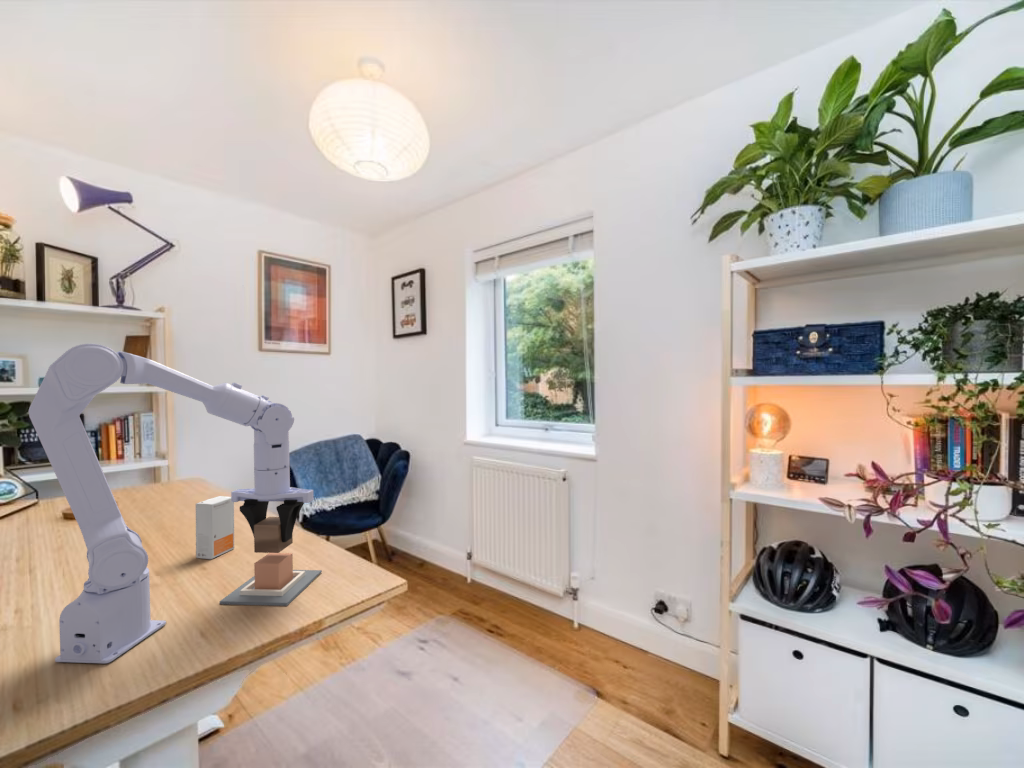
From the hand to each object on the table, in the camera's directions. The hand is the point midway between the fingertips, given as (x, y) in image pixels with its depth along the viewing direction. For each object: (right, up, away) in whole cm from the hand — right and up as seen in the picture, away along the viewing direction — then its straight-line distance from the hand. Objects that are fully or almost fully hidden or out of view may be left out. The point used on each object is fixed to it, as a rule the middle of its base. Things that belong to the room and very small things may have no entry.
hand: (273, 539), depth 79 cm
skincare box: (-21, -9, +15) cm, 28 cm away
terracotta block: (0, -8, 0) cm, 8 cm away
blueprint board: (0, -9, 0) cm, 9 cm away
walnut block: (0, -2, 0) cm, 2 cm away
